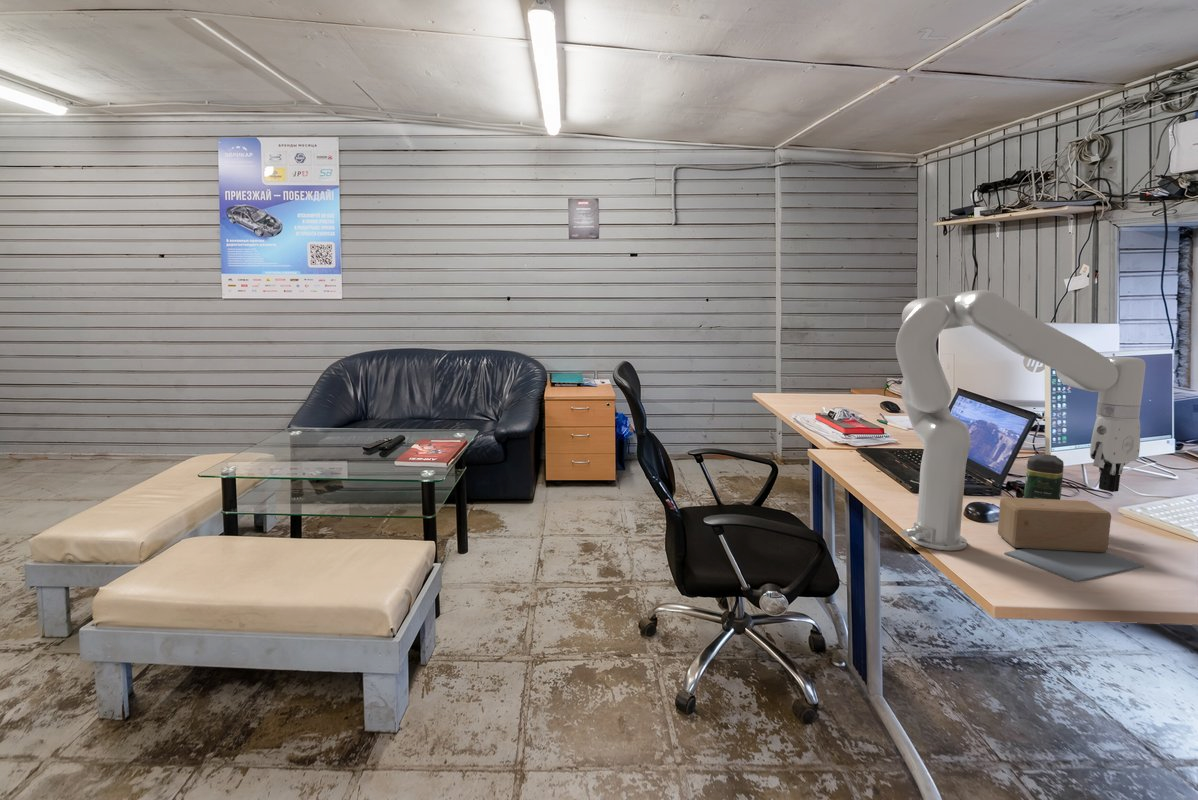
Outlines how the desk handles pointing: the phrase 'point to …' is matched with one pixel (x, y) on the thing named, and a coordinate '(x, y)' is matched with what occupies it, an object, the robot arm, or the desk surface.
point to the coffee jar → (1044, 477)
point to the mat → (1075, 562)
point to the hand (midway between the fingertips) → (1108, 490)
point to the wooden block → (1054, 524)
